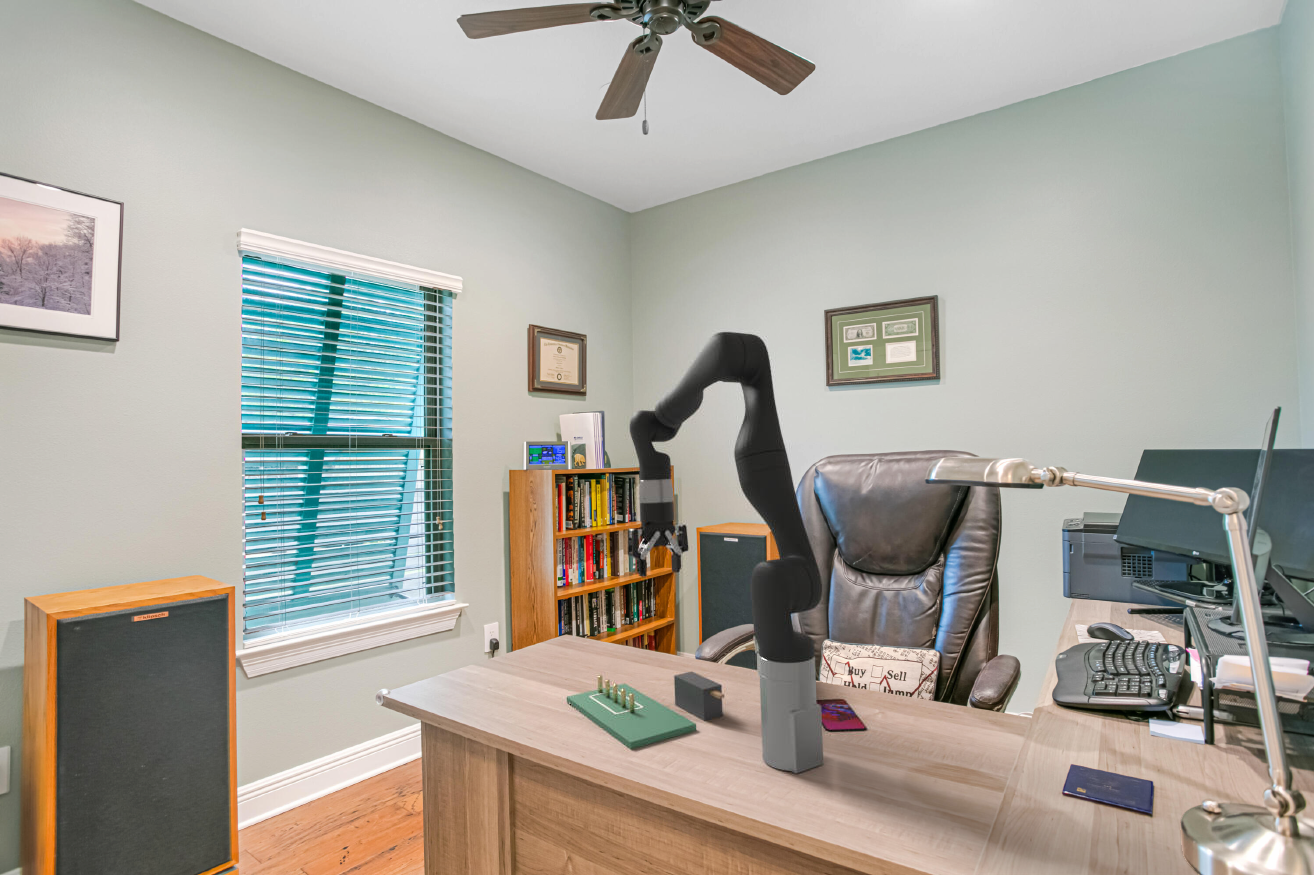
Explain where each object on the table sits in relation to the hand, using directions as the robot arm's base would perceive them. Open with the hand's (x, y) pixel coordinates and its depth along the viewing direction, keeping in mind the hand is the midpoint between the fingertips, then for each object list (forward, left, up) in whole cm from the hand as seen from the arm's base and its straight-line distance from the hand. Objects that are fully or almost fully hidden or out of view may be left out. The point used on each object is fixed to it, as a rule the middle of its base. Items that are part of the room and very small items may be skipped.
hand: (659, 574), depth 146 cm
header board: (-7, +13, -26) cm, 30 cm away
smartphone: (-31, -20, -26) cm, 45 cm away
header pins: (-2, +13, -24) cm, 28 cm away
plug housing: (-15, 0, -26) cm, 29 cm away
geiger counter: (-8, -22, -26) cm, 35 cm away
